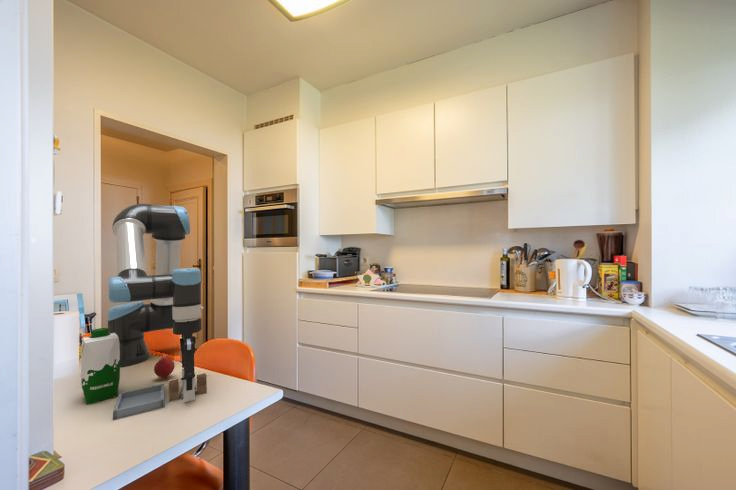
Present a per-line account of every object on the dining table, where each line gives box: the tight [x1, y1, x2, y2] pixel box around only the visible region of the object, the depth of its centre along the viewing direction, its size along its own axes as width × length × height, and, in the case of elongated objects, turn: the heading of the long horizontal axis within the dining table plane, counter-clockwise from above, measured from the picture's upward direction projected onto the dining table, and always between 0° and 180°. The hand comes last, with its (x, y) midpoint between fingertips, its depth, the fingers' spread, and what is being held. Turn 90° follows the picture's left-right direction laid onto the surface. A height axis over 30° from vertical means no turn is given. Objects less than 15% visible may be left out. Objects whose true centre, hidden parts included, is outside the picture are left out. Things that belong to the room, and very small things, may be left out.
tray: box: [112, 383, 165, 421], centre depth 88 cm, size 13×11×2 cm
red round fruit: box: [153, 354, 176, 379], centre depth 106 cm, size 6×6×8 cm
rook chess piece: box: [179, 368, 197, 399], centre depth 92 cm, size 4×4×8 cm
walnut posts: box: [168, 373, 208, 403], centre depth 92 cm, size 3×10×5 cm, turn 123°
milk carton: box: [80, 327, 121, 405], centre depth 93 cm, size 9×9×20 cm
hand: (188, 394), depth 92 cm, fingers open, 9 cm apart
